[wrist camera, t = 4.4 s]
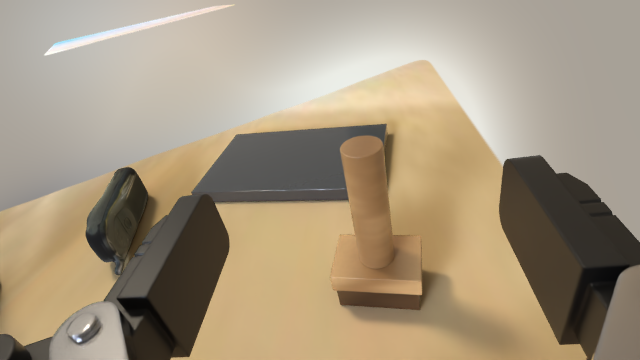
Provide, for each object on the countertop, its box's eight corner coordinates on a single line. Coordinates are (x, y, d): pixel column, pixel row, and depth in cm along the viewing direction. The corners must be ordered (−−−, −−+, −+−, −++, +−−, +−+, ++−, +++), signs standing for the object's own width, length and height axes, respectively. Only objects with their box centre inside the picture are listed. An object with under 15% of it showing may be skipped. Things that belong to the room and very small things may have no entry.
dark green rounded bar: (110, 167, 45) (69, 245, 33) (135, 160, 46) (103, 235, 33) (129, 199, 48) (98, 282, 35) (152, 192, 48) (129, 273, 36)
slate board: (195, 202, 44) (191, 192, 43) (239, 143, 55) (236, 134, 54) (379, 199, 38) (377, 188, 37) (387, 133, 49) (386, 123, 48)
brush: (337, 307, 28) (301, 168, 21) (345, 263, 32) (317, 131, 25) (423, 312, 27) (416, 163, 19) (422, 266, 30) (416, 124, 23)
